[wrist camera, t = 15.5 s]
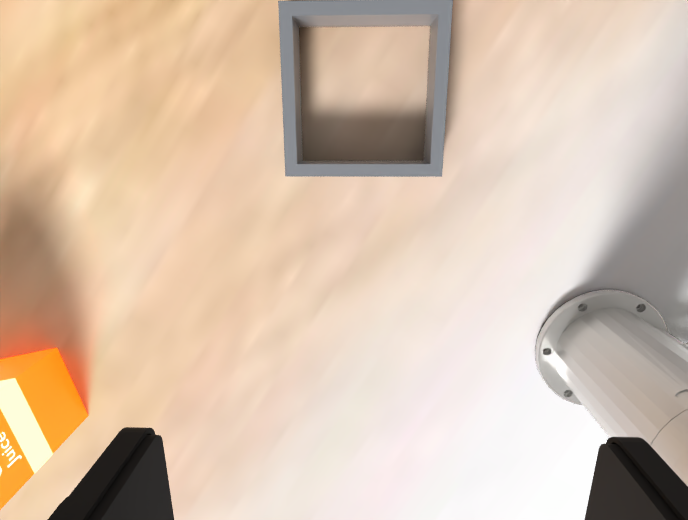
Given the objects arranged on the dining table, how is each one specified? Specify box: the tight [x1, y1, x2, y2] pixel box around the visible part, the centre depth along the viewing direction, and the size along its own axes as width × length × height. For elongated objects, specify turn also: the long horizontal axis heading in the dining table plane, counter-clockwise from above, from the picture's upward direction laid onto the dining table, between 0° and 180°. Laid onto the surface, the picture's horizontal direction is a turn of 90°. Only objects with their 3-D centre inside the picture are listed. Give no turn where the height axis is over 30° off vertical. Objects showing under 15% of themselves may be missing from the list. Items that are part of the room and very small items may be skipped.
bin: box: [278, 0, 453, 176], centre depth 36 cm, size 13×13×4 cm
